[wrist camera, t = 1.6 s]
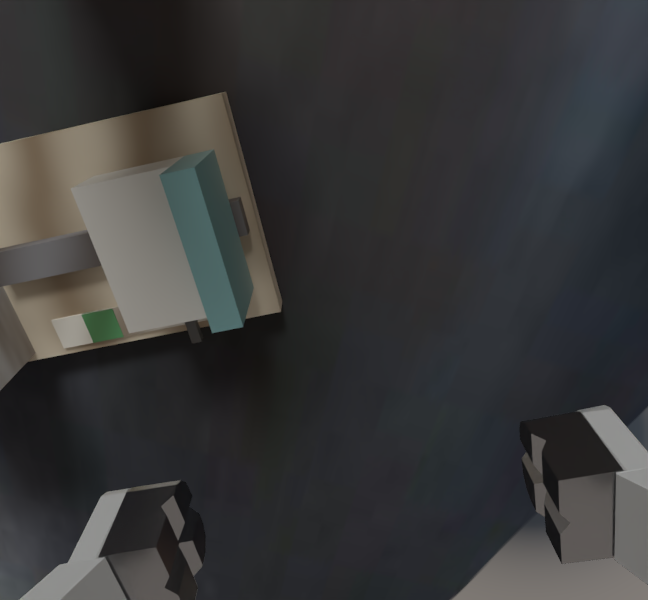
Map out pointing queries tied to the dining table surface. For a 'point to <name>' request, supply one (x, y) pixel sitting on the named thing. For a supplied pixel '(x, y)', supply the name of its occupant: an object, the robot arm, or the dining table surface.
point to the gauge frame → (73, 238)
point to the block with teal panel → (169, 244)
